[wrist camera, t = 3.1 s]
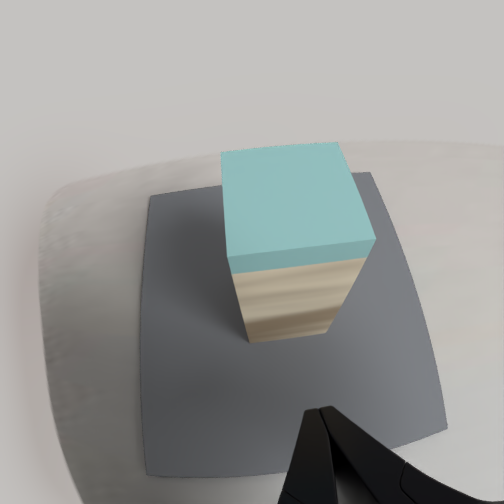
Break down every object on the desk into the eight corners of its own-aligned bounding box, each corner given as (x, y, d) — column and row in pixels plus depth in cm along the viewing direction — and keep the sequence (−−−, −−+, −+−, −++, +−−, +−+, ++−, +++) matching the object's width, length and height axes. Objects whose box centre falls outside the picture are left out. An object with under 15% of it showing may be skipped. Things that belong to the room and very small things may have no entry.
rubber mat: (443, 428, 13) (447, 428, 12) (149, 474, 13) (146, 475, 12) (368, 176, 22) (370, 172, 21) (152, 200, 22) (150, 195, 21)
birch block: (325, 332, 16) (376, 238, 8) (249, 343, 16) (227, 256, 8) (312, 266, 18) (337, 142, 10) (242, 274, 18) (220, 152, 10)
